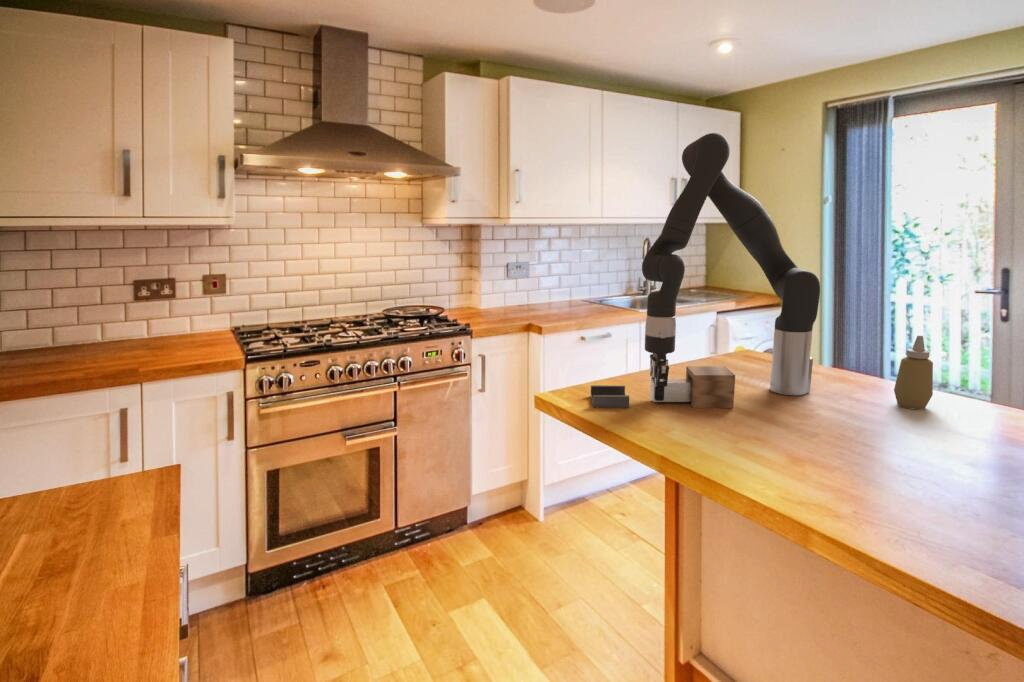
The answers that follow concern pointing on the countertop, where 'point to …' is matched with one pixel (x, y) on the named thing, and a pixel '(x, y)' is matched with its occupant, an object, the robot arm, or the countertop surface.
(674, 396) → the shiny metal block
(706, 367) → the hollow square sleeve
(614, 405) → the grey channel block
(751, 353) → the countertop surface
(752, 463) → the countertop surface
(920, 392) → the squeeze bottle
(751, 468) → the countertop surface
